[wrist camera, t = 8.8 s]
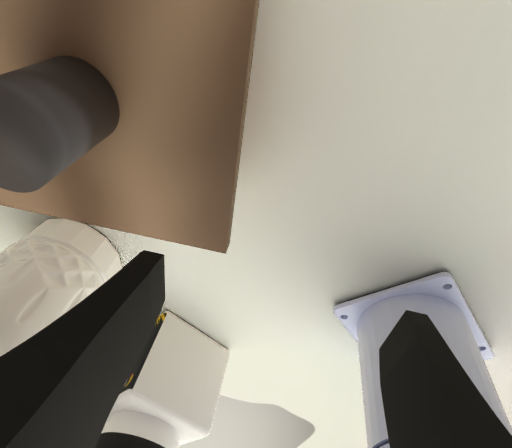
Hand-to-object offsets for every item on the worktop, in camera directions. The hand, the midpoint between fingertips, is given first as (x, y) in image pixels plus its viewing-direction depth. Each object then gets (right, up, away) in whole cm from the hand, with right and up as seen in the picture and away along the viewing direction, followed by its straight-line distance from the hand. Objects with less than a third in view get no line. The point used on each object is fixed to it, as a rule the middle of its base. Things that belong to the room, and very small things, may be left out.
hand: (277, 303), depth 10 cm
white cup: (-14, 0, +15) cm, 21 cm away
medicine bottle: (-8, -8, +21) cm, 24 cm away
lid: (-7, +7, +3) cm, 11 cm away
